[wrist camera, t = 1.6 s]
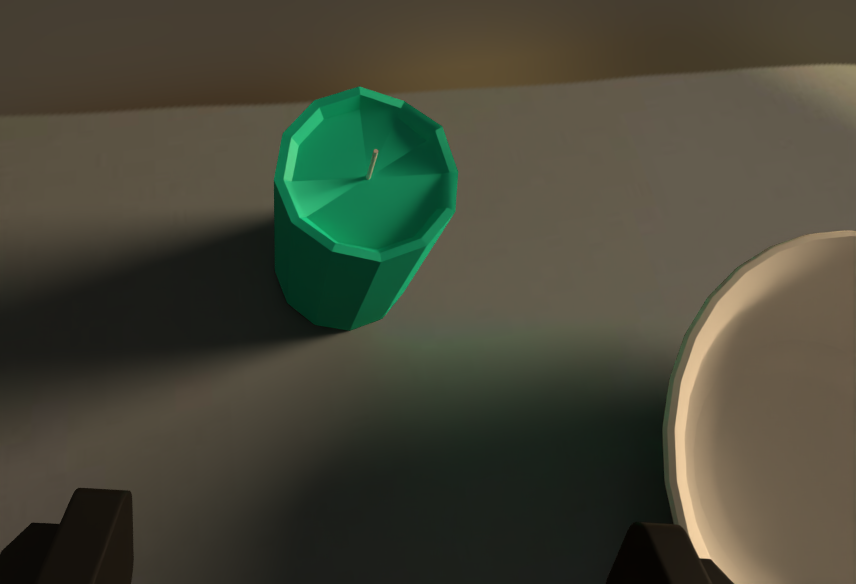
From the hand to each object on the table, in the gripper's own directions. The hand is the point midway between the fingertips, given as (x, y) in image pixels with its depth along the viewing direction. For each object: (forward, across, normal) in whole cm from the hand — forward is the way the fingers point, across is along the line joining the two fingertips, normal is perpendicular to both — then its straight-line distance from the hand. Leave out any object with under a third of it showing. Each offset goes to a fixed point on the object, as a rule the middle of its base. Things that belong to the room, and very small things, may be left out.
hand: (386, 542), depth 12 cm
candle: (+22, 0, +7) cm, 23 cm away
